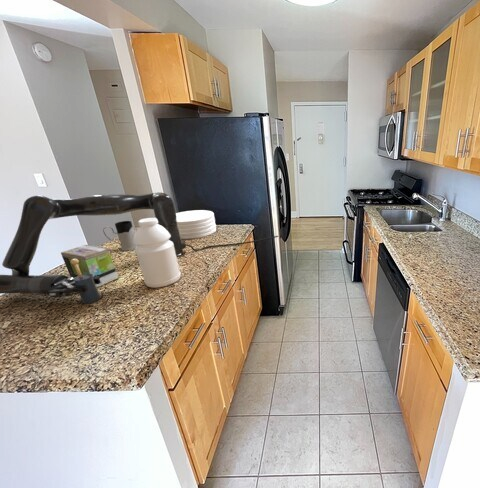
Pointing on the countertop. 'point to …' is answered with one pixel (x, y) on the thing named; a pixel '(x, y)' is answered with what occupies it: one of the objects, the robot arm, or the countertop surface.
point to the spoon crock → (86, 285)
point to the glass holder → (125, 235)
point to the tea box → (91, 263)
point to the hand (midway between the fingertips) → (92, 285)
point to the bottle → (156, 254)
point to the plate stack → (195, 223)
